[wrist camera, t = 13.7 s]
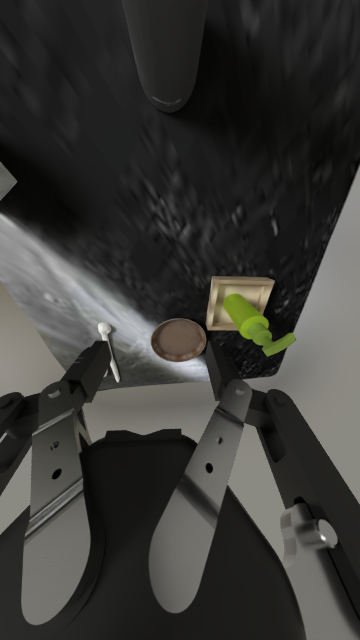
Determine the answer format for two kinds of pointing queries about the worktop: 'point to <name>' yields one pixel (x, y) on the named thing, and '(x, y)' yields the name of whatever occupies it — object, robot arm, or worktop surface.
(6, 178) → the supplement box
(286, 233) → the worktop surface
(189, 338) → the plant saucer
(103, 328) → the white ball-headed stick
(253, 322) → the soap dispenser
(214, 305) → the birch crate
